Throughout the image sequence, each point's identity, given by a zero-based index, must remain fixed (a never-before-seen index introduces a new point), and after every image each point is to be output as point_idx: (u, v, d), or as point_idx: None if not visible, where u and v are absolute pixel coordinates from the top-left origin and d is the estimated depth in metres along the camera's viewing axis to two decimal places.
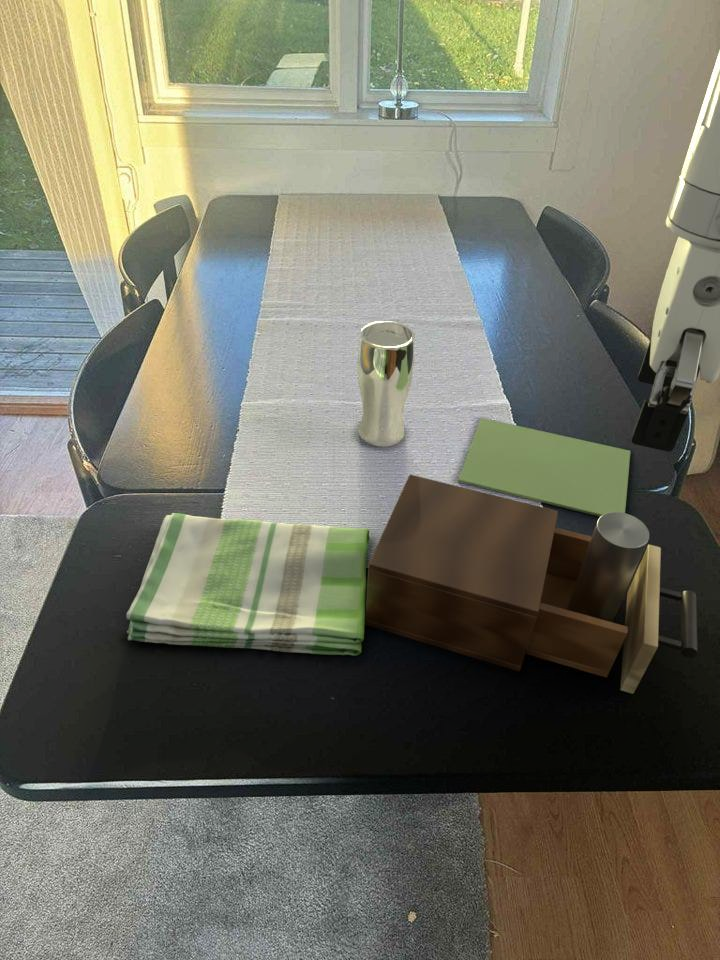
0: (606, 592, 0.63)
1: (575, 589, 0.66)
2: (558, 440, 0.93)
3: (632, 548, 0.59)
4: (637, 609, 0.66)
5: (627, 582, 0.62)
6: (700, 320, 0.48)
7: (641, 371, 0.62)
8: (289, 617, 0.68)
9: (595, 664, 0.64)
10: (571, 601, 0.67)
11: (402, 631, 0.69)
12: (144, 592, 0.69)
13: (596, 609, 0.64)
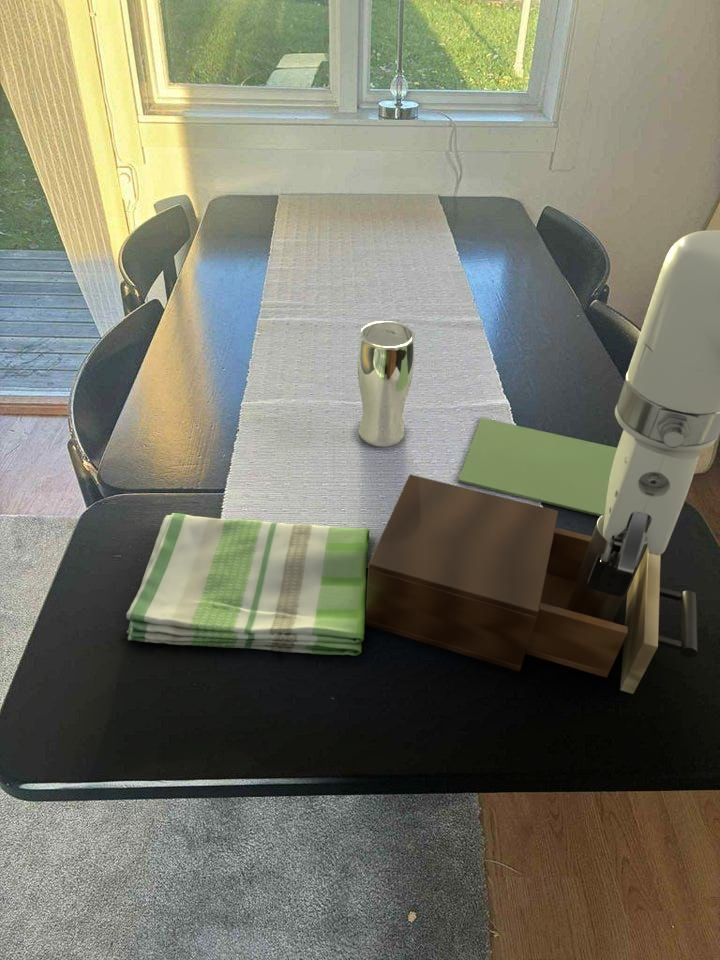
0: None
1: (575, 589, 0.66)
2: (558, 440, 0.93)
3: None
4: (637, 609, 0.66)
5: None
6: (646, 507, 0.52)
7: None
8: (289, 617, 0.68)
9: (595, 664, 0.64)
10: (571, 601, 0.67)
11: (402, 631, 0.69)
12: (144, 592, 0.69)
13: (596, 609, 0.64)
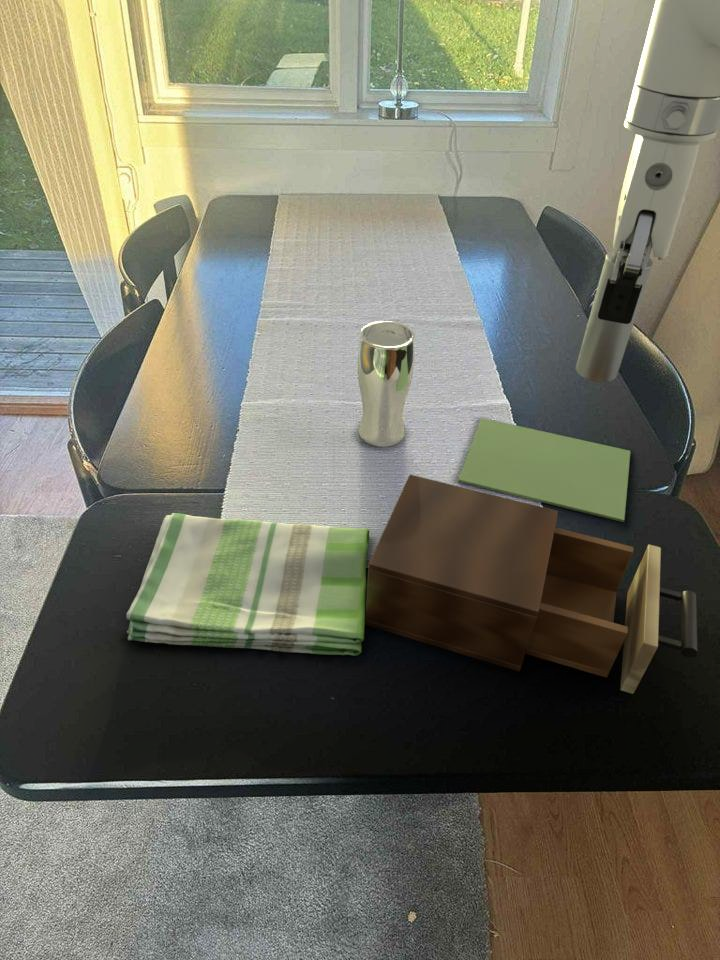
0: (614, 324, 0.70)
1: (585, 333, 0.73)
2: (558, 440, 0.93)
3: None
4: (637, 609, 0.66)
5: (633, 314, 0.70)
6: (651, 202, 0.59)
7: None
8: (289, 617, 0.68)
9: (595, 664, 0.64)
10: (582, 348, 0.74)
11: (402, 631, 0.69)
12: (144, 592, 0.69)
13: (605, 345, 0.72)
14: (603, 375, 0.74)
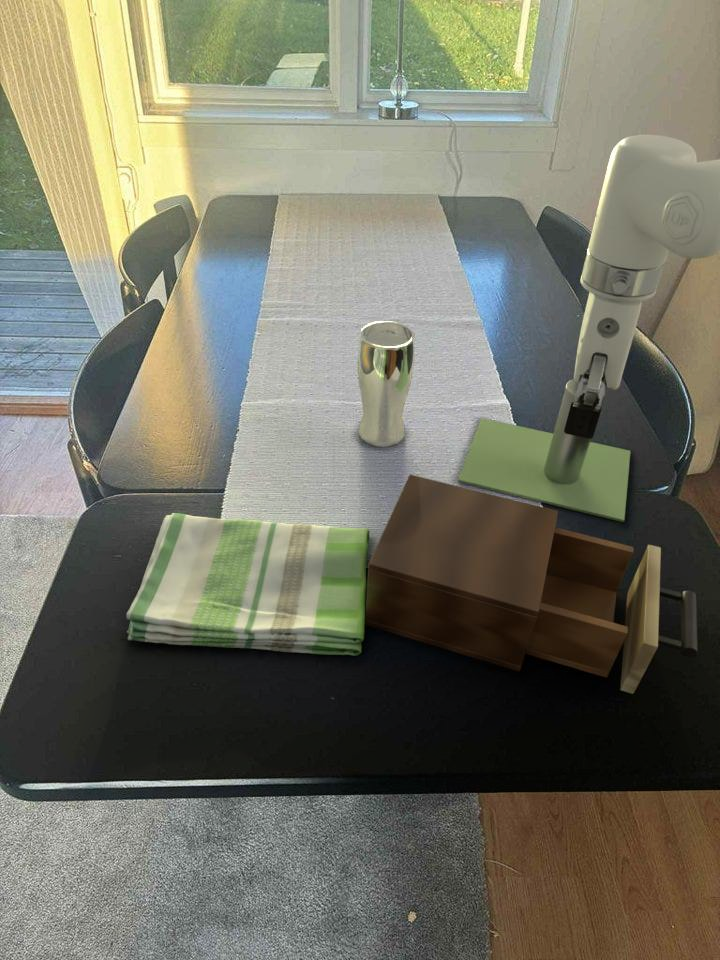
0: (574, 440, 0.82)
1: (551, 444, 0.85)
2: None
3: None
4: (637, 609, 0.66)
5: None
6: (603, 347, 0.71)
7: None
8: (289, 617, 0.68)
9: (595, 664, 0.64)
10: (548, 455, 0.87)
11: (402, 631, 0.69)
12: (144, 592, 0.69)
13: (567, 456, 0.84)
14: (566, 479, 0.86)
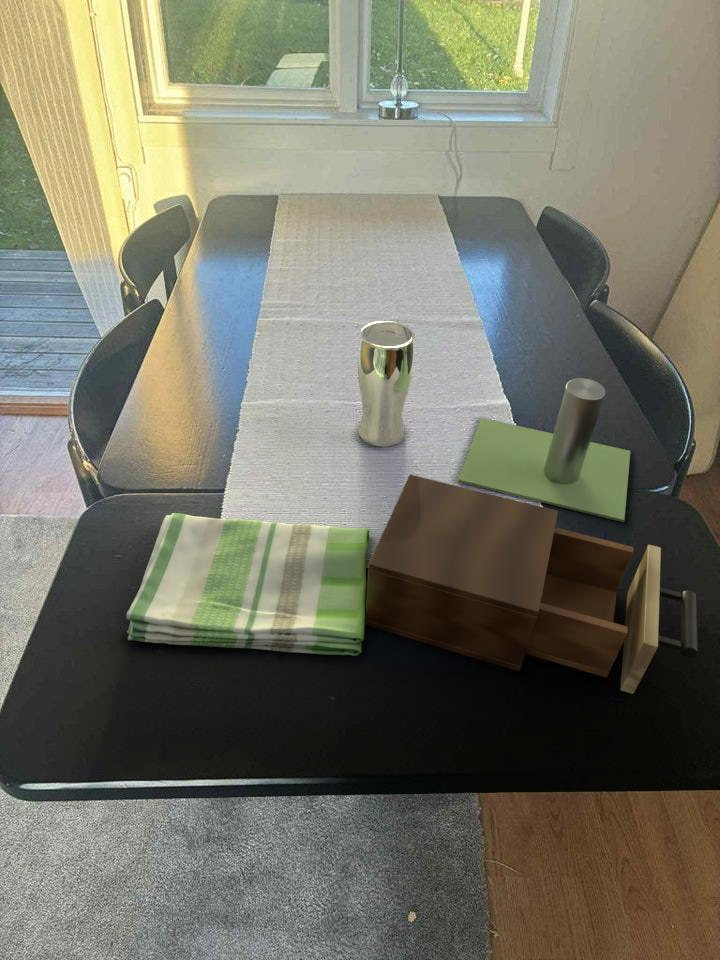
0: (574, 440, 0.82)
1: (551, 444, 0.85)
2: None
3: (592, 400, 0.78)
4: (637, 609, 0.66)
5: (590, 432, 0.82)
6: None
7: None
8: (289, 617, 0.68)
9: (595, 664, 0.64)
10: (548, 455, 0.87)
11: (402, 631, 0.69)
12: (144, 592, 0.69)
13: (567, 456, 0.84)
14: (566, 479, 0.86)
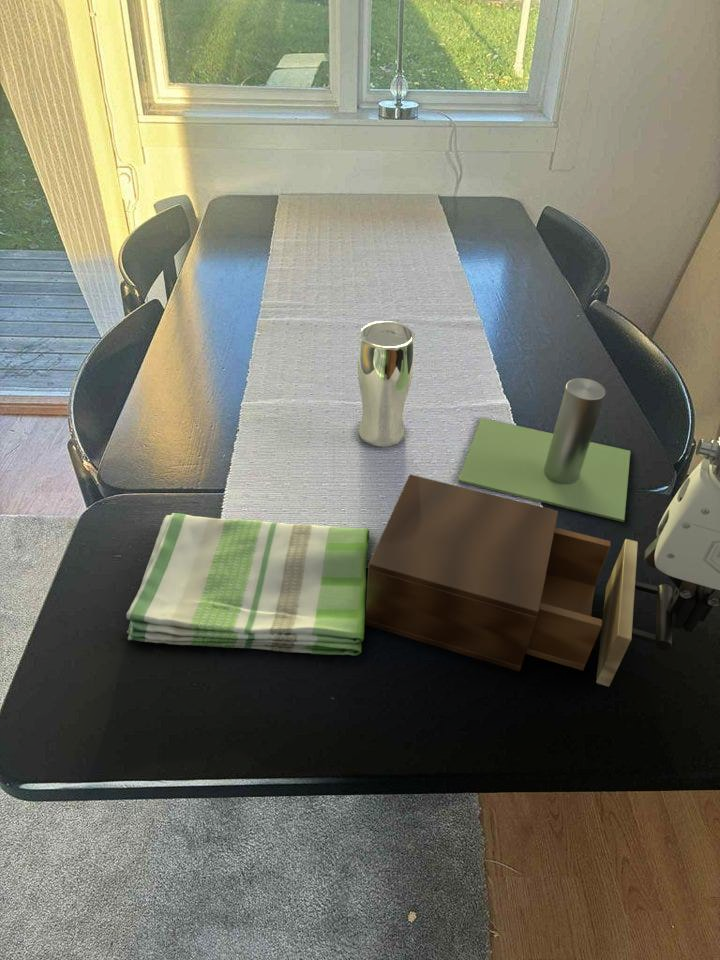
0: (574, 440, 0.82)
1: (551, 444, 0.85)
2: None
3: (592, 400, 0.78)
4: (613, 603, 0.66)
5: (590, 432, 0.82)
6: (672, 508, 0.58)
7: None
8: (289, 617, 0.68)
9: (571, 657, 0.65)
10: (548, 455, 0.87)
11: (402, 631, 0.69)
12: (144, 592, 0.69)
13: (567, 456, 0.84)
14: (566, 479, 0.86)
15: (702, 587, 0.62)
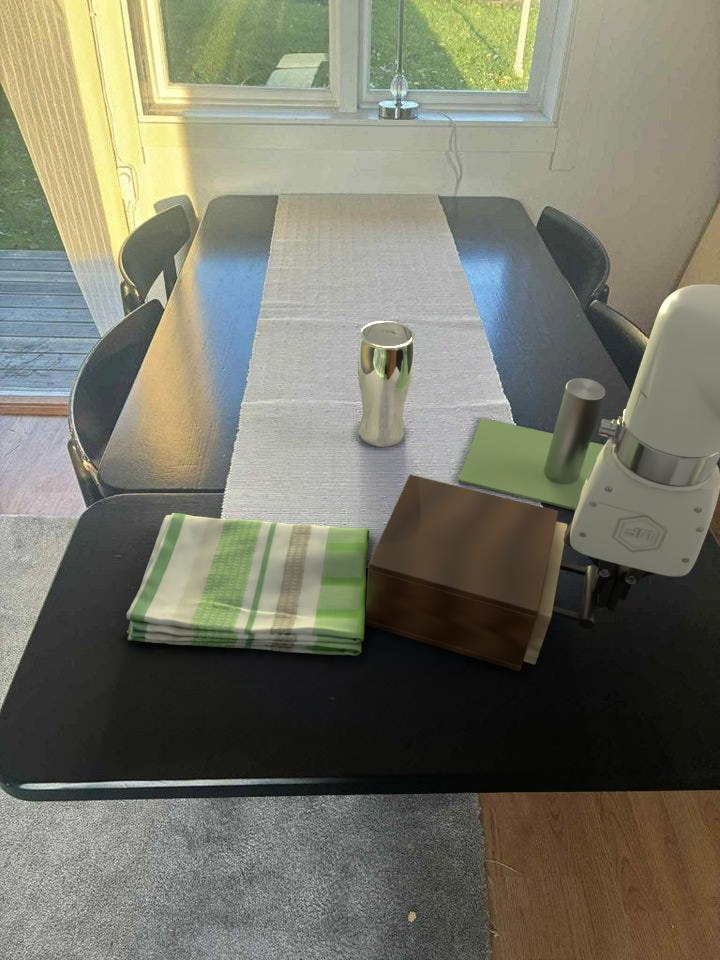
0: (574, 440, 0.82)
1: (551, 444, 0.85)
2: None
3: (592, 400, 0.78)
4: None
5: (590, 432, 0.82)
6: (583, 488, 0.59)
7: None
8: (289, 617, 0.68)
9: None
10: (548, 455, 0.87)
11: (402, 631, 0.69)
12: (144, 592, 0.69)
13: (567, 456, 0.84)
14: (566, 479, 0.86)
15: (621, 566, 0.64)
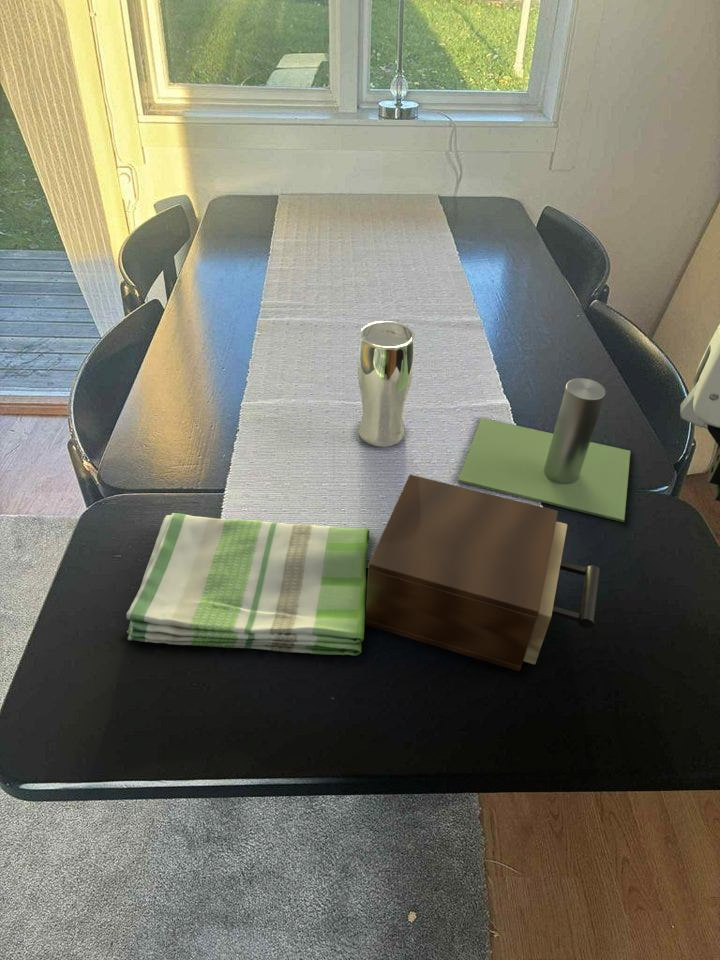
0: (574, 440, 0.82)
1: (551, 444, 0.85)
2: None
3: (592, 400, 0.78)
4: None
5: (590, 432, 0.82)
6: (714, 340, 0.48)
7: None
8: (289, 617, 0.68)
9: None
10: (548, 455, 0.87)
11: (402, 631, 0.69)
12: (144, 592, 0.69)
13: (567, 456, 0.84)
14: (566, 479, 0.86)
15: None
